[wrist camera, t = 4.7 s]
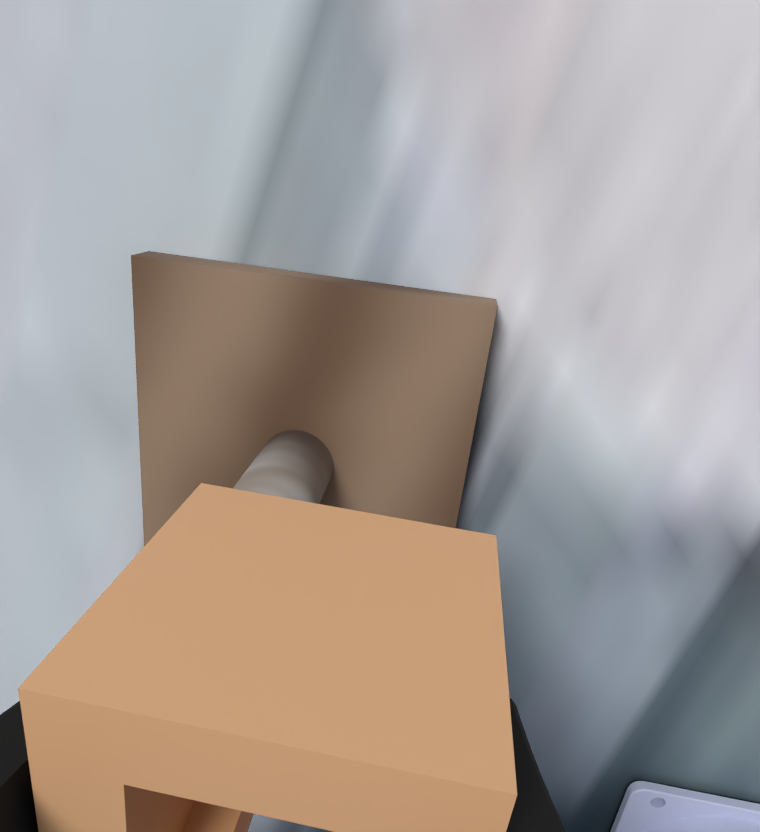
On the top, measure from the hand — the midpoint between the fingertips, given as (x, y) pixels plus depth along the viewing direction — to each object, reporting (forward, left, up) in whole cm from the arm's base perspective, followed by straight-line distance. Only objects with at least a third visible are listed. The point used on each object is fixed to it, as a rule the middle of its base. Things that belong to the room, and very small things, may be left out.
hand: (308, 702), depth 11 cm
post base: (+2, 0, -9) cm, 9 cm away
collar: (0, 0, -2) cm, 2 cm away
